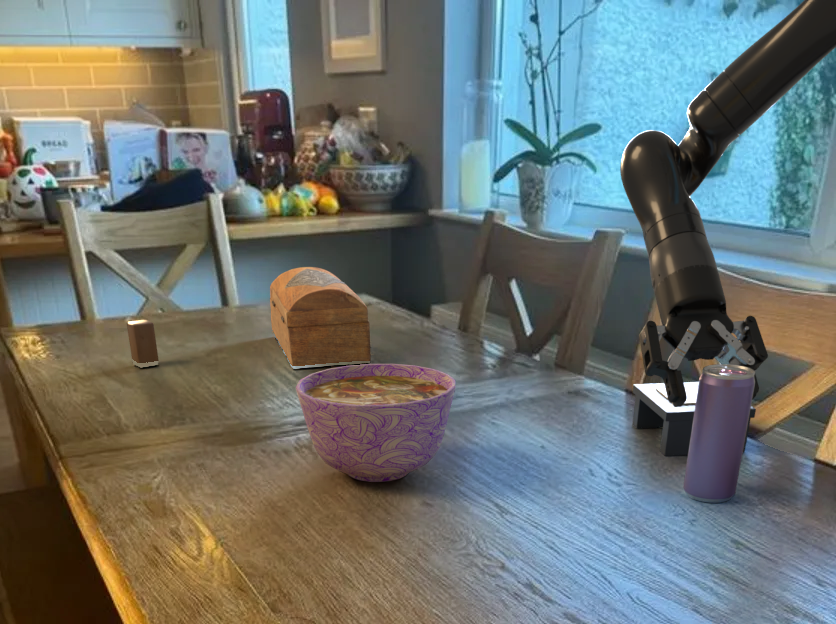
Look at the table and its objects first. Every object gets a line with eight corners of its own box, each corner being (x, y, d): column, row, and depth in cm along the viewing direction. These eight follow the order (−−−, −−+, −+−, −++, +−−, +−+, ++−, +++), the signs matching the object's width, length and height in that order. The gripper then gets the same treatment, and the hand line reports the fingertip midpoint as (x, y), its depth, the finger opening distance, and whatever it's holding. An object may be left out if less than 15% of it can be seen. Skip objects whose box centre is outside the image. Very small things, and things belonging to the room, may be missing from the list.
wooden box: (376, 364, 167) (374, 286, 161) (288, 370, 165) (282, 291, 158) (348, 331, 193) (346, 263, 187) (271, 336, 190) (266, 267, 184)
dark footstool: (708, 421, 134) (714, 379, 131) (748, 452, 121) (756, 407, 118) (628, 424, 133) (633, 382, 130) (660, 456, 121) (666, 411, 118)
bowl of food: (300, 449, 126) (295, 366, 120) (442, 442, 127) (443, 360, 122) (302, 503, 108) (295, 409, 103) (466, 495, 110) (469, 401, 104)
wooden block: (139, 369, 168) (133, 325, 164) (132, 365, 171) (125, 321, 167) (160, 366, 170) (154, 322, 166) (152, 362, 173) (146, 319, 169)
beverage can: (727, 507, 105) (749, 379, 98) (676, 498, 108) (694, 372, 101) (740, 491, 109) (762, 367, 102) (690, 482, 112) (709, 361, 105)
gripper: (641, 265, 105) (670, 388, 100) (755, 259, 107) (789, 381, 102) (619, 304, 112) (645, 421, 107) (726, 298, 114) (757, 413, 109)
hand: (715, 401), depth 105 cm, fingers open, 8 cm apart
